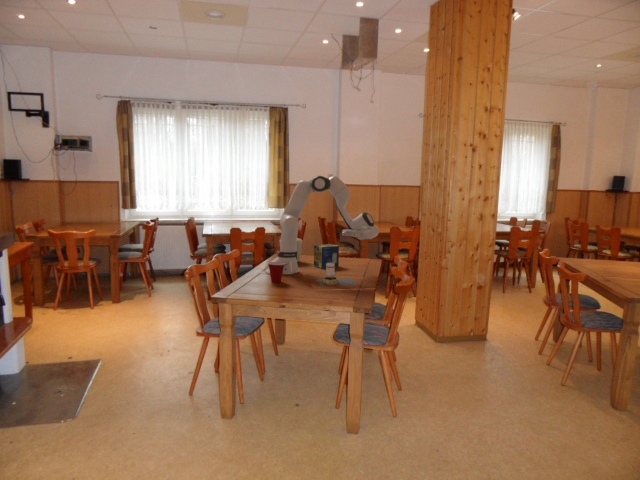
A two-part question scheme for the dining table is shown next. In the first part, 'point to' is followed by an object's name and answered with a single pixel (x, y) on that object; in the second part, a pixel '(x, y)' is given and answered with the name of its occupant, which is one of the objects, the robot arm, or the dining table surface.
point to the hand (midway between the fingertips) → (349, 234)
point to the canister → (299, 245)
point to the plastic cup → (276, 271)
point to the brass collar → (330, 281)
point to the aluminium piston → (330, 271)
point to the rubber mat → (339, 282)
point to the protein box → (326, 255)
